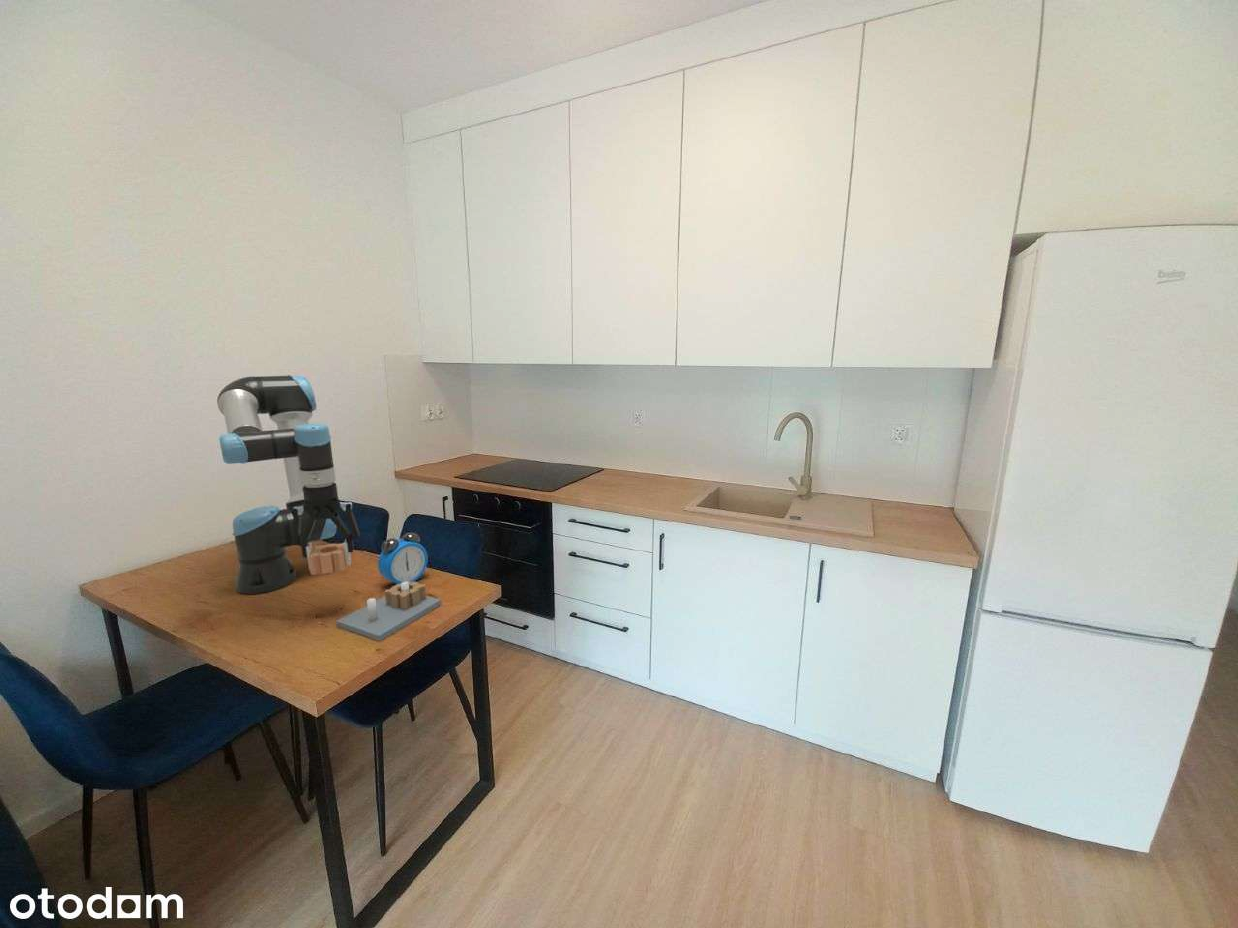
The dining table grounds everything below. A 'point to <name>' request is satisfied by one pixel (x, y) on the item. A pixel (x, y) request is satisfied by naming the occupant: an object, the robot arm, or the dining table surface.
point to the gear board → (390, 611)
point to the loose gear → (327, 559)
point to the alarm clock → (402, 559)
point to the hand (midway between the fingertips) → (330, 565)
